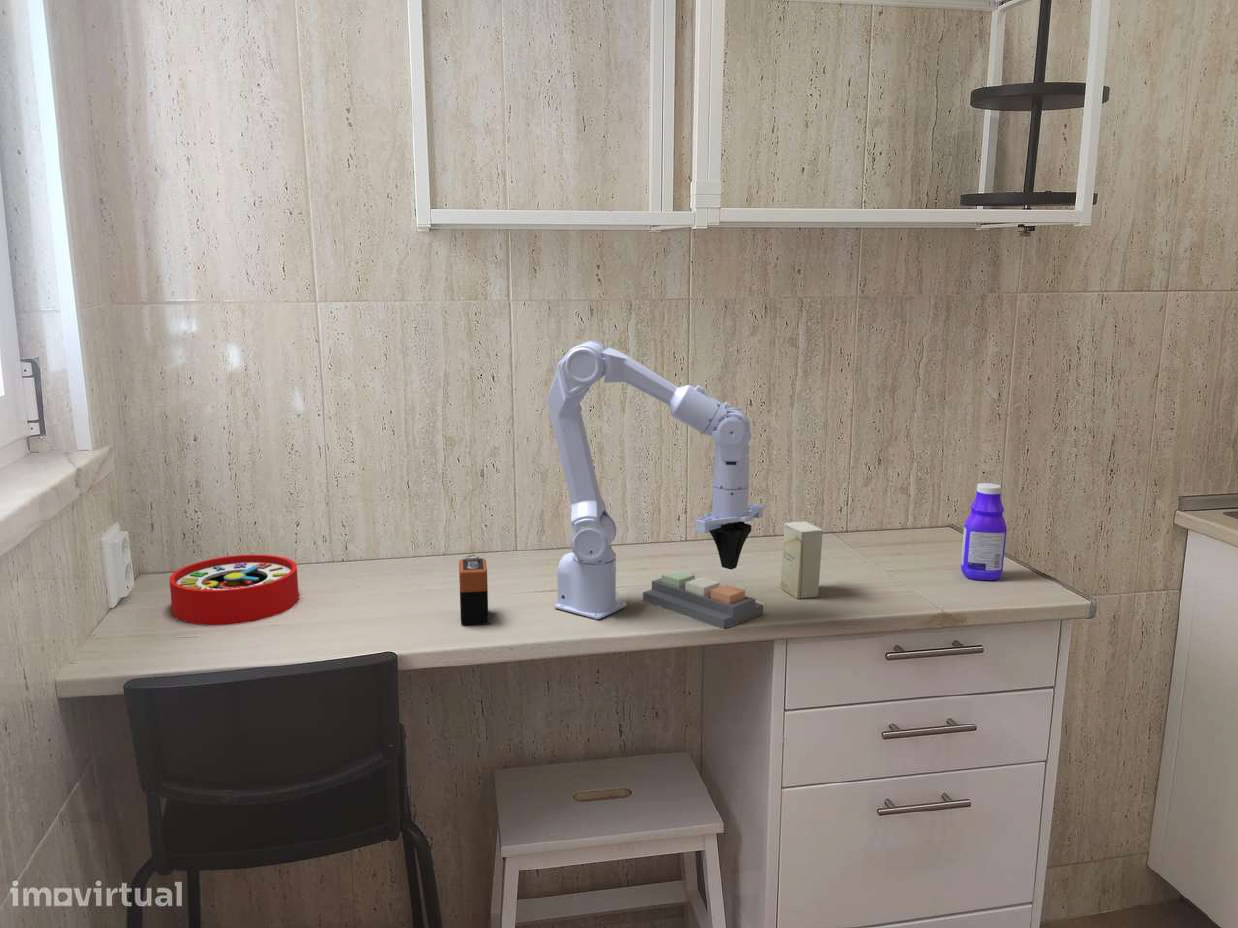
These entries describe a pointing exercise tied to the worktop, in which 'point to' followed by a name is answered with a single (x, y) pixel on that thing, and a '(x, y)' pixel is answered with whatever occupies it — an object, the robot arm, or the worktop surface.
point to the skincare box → (801, 559)
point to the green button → (677, 578)
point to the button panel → (701, 605)
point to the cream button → (701, 586)
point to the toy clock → (234, 589)
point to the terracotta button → (727, 594)
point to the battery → (473, 590)
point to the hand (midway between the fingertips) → (728, 567)
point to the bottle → (984, 535)
